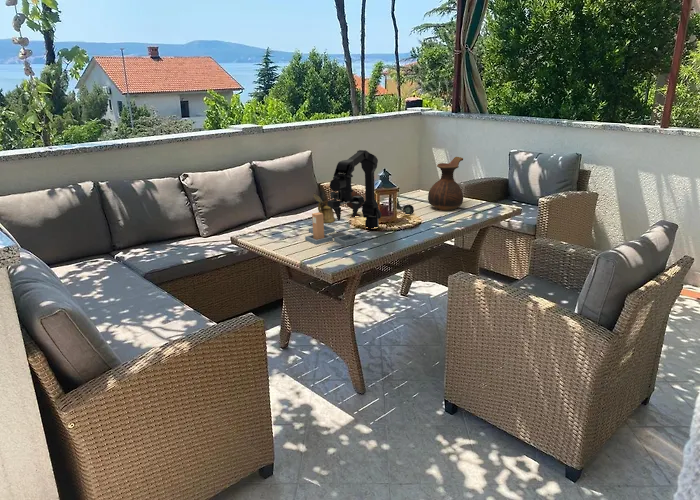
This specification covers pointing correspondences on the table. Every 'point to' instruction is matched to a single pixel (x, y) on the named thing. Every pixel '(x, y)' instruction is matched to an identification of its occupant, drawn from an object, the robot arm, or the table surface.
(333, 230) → the empty tray
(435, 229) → the table surface
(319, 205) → the wooden mug
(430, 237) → the table surface
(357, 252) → the table surface
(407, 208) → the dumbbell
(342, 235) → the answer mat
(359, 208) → the ice cream bowl
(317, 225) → the orange block
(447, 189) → the jug
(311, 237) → the tray
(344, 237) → the empty tray
